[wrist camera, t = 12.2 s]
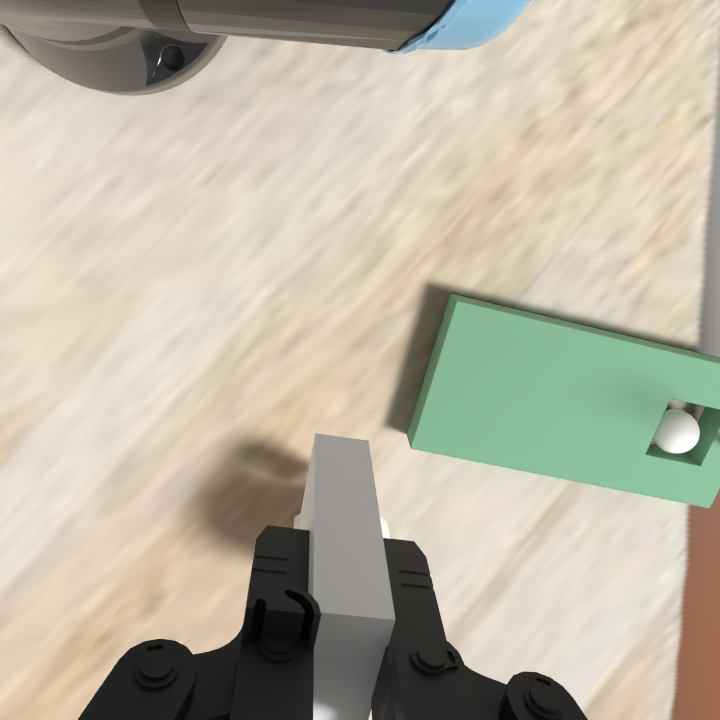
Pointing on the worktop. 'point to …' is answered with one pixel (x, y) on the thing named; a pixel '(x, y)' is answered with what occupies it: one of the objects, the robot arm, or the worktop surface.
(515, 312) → the putting strip
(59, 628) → the worktop surface
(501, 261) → the worktop surface
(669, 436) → the ball
